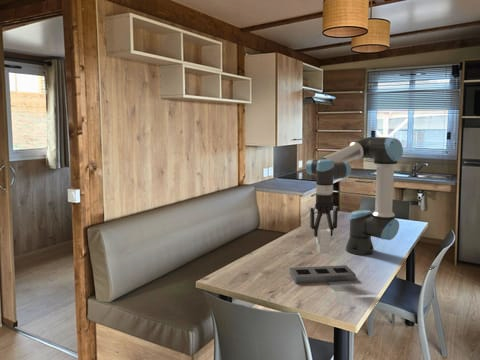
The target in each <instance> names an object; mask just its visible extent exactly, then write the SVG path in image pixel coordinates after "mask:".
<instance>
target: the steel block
mask: <svg viewBox="0 0 480 360" xmlns="http://www.w3.org/2000/svg"><path fill="white" fill-rule="evenodd" d="M327 229H328V228H326V229H319V230H320V232H319V244H317V243H316V251H317V253H318V255H319V254H322V255H323V254H330V245H331V241H330V232H329V231H328V230H327Z"/></svg>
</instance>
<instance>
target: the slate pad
mask: <svg viewBox="0 0 480 360" xmlns="http://www.w3.org/2000/svg"><path fill="white" fill-rule="evenodd" d="M327 283H328V285H330V287H331V288H332V289H333V291H335V292H352V291H354V292H355V291H358V289H357V288H356V287H355V286H354V285H353V284H352V282H351V281H343V282H327Z"/></svg>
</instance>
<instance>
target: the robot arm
mask: <svg viewBox="0 0 480 360" xmlns="http://www.w3.org/2000/svg"><path fill="white" fill-rule="evenodd" d="M403 153H404V149H403V145H402V142H401V141H400V140H399V139H398V138H395V137H389V136H388V137H386V136H385V137H384V136H369V137H363V138H361V139H358V140H355V141H353V142H351V143H350V144H349V145H348V146H346V147H344V148H342V149H340V150H336V151H334V152H333V153H330V154H327V155H325V156H323V157H321V158H318V159H314V158H313V159H309V160H307V161H306V163H305V166H304V168H305V172H306V174H308V175H312V176H316V185H315V187H316V188H315V192H316V194H315V204H314V206H309V207H308V210H309V211H310V212H309V213H310V214H309V215H310V216H309V218H310V219H309V227H310V228H311V230H314V231H313V235H314V237H315V243H316V245H317V244H319V232H320V230H321V229H319V226H320V223H321V220H322V216H323V215H326V219H327V224H328V228H326V229H327V230H328V231H329V232H330V242H331V239H332V238H331V237H333V235H334V234H333V233H334V232H333V231H334V229H337V228H338V214H339V213H338V212H339V210H340V207H339V206H335V205H334V204H333V201H334V195H333V193H334V180H337V179H345V178H347V177H349V176H350V175H351V173H352V166H351V165H350V162H352V161H354V160H361V159H370V160H371V159H373V164H374V165H375V166H376V175H375V177H376V178H375V179H376V180H375V199H374V200H375V203H374V205H375V207H374V211H372V210H369V209H362V210H360V209H359V210H354V211H351V212H350V215H349V217H350V218H349V237H348V239H347V242H346V245H345V251H346V252H347V253H349V254H352V255H353V254H354V255H359V256H360V255H361V256H366V255H367V256H368V255H371V254H374V252H375V251H374V249H375V247H374V245H373V241H372V237H374V238H377V239H381V240H387V241H391V240H393V239H394V238H396V236H397V234H398V232H399V230H400V229H399V228H400V222H399V220H398V219H396V214H395V213H394V212H393V197H394V196H393V195H394V176H395V175H394V173H395V167H396V166H397V165H398V162H399V161H400V160H401V159H402V157H403ZM316 211H317V213H316V217H315V212H316ZM331 211H333V212H332V213H333V214H332V216H331Z"/></svg>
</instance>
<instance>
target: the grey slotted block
mask: <svg viewBox="0 0 480 360" xmlns="http://www.w3.org/2000/svg"><path fill="white" fill-rule="evenodd" d="M289 275H290V276H291V278H292V281H293V282H294V283H295V285H300V284H318V283H319V284H320V283H328V282H343V281H350V282H356V278H357V277H356V275H357V274H356V273H355V272H354V271H353V270H352V269H351V268H350V267H349V266H347V264H346V265H325V266H323V265H322V266H301V267H300V266H299V267H289Z"/></svg>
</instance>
